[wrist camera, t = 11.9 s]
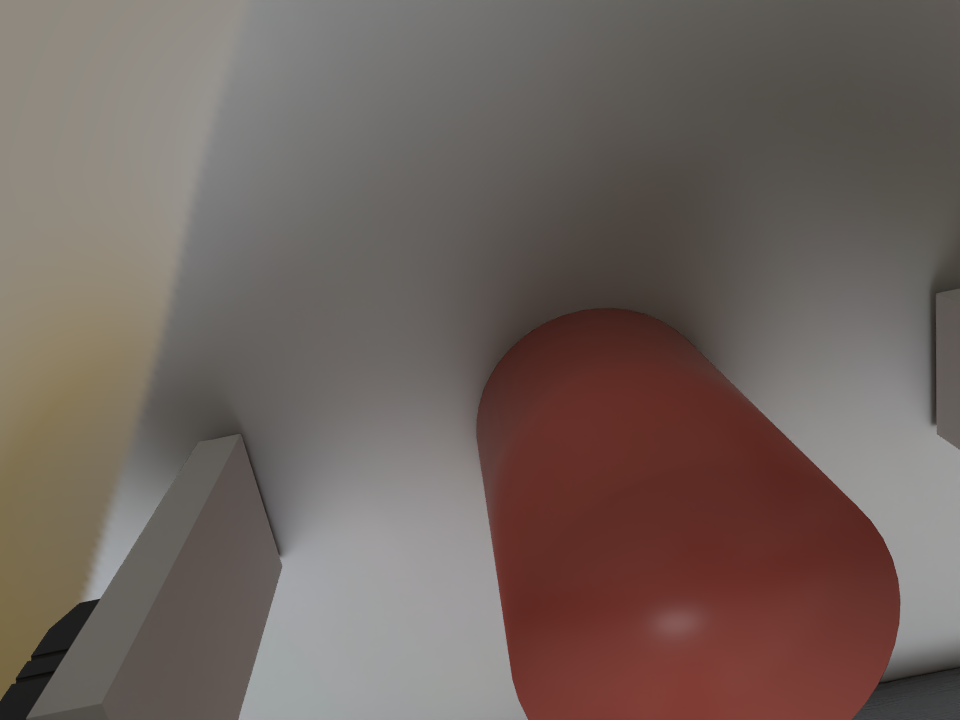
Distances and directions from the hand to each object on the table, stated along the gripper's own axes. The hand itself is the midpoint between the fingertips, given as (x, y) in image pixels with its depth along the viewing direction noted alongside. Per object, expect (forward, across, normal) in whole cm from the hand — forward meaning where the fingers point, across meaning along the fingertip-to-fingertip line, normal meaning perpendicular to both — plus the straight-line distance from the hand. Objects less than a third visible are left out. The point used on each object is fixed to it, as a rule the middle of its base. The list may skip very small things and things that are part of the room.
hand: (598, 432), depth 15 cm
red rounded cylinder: (0, 0, 0) cm, 0 cm away
